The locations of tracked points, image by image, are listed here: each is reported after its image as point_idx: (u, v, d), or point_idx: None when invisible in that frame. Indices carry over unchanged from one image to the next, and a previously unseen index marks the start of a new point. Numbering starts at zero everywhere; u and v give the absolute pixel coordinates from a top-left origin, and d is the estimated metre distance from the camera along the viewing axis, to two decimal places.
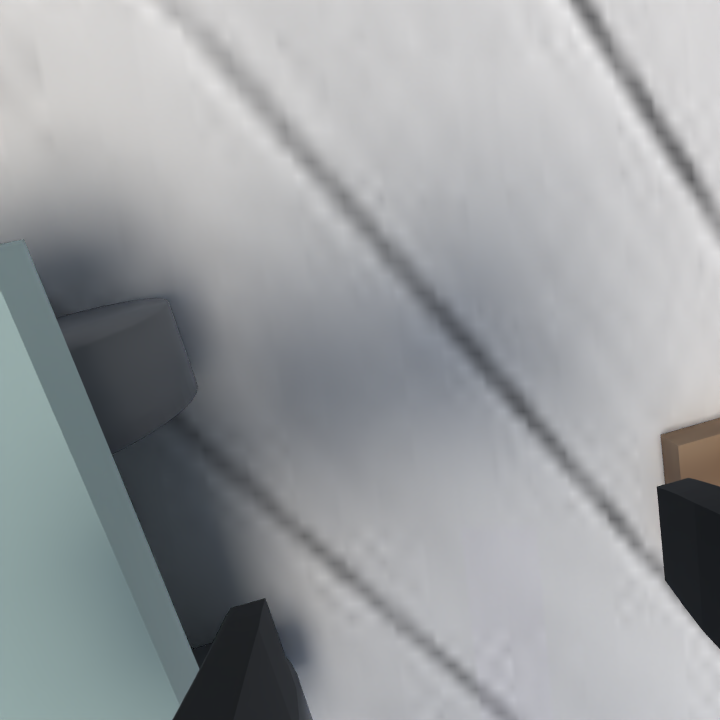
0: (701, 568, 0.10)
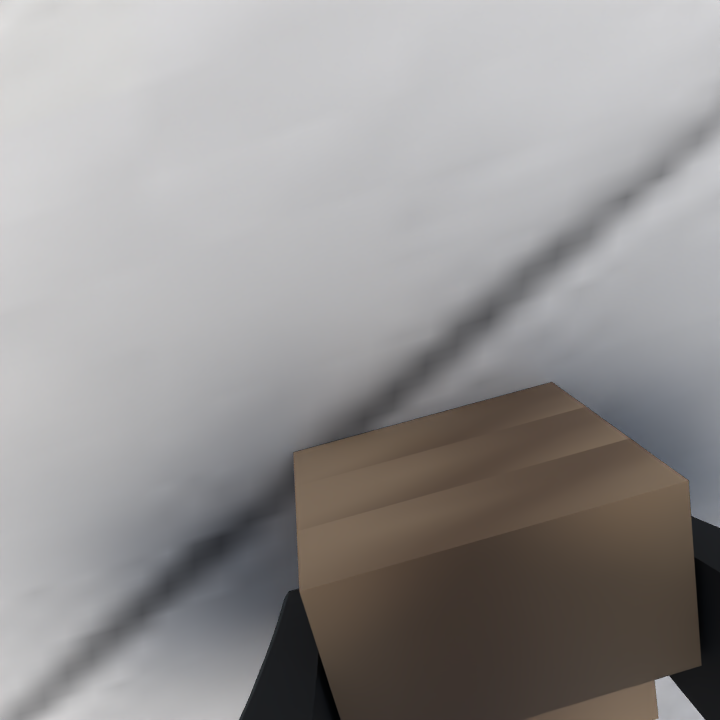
0: None
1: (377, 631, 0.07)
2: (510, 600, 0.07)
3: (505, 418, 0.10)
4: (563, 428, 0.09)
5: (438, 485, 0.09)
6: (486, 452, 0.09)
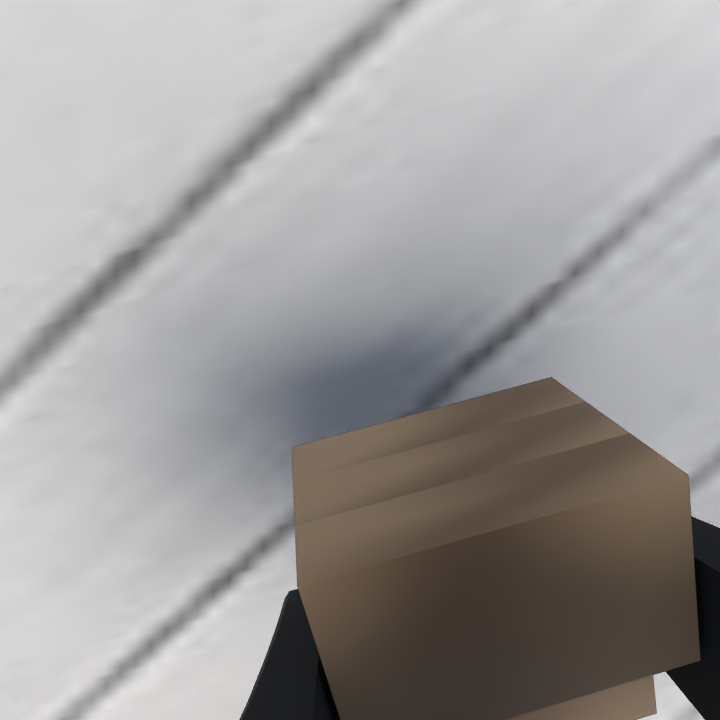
0: None
1: (375, 626, 0.07)
2: (508, 594, 0.07)
3: (505, 413, 0.10)
4: (562, 423, 0.09)
5: (437, 480, 0.09)
6: (485, 447, 0.09)
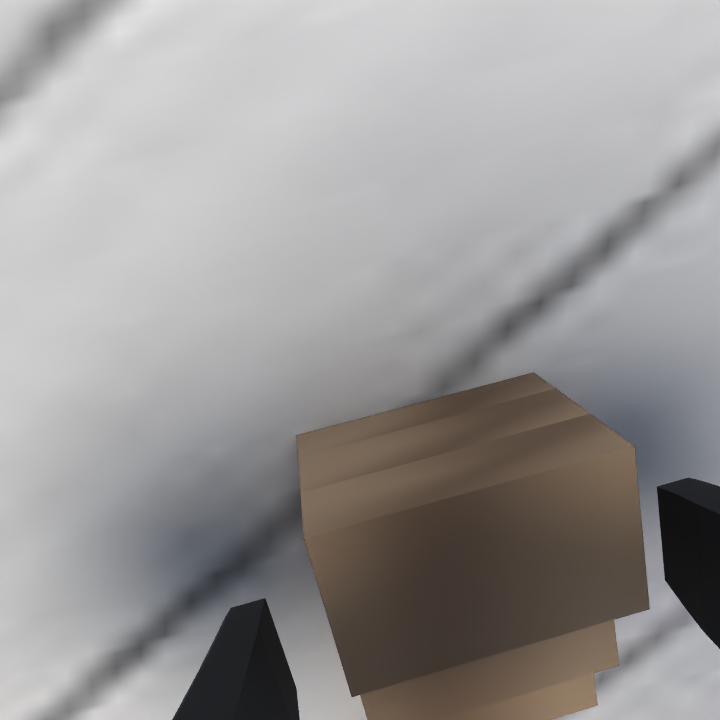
0: (701, 568, 0.10)
1: (369, 574, 0.09)
2: (483, 548, 0.09)
3: (485, 399, 0.11)
4: (534, 406, 0.11)
5: (423, 455, 0.10)
6: (466, 427, 0.10)
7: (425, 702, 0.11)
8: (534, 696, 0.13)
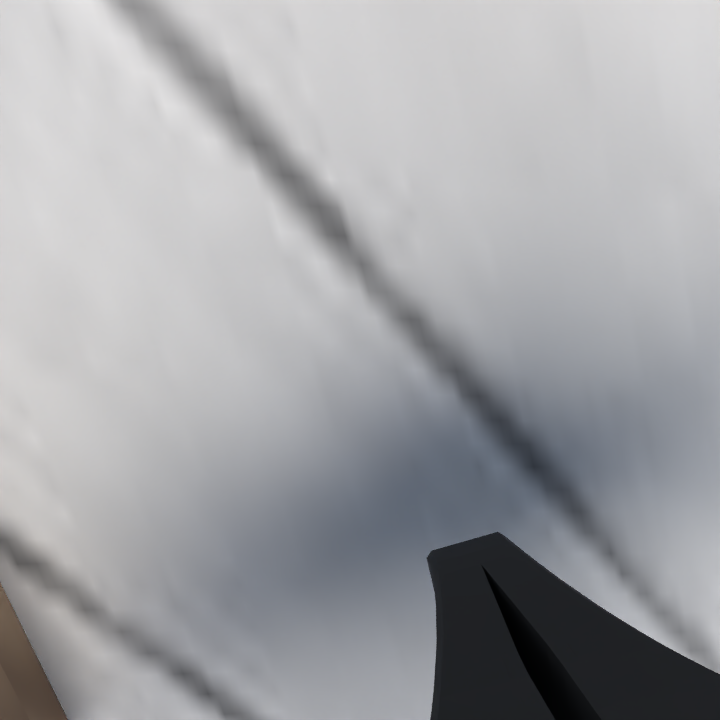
0: None
1: None
2: None
3: (37, 705, 0.12)
4: None
5: None
6: None
7: None
8: None
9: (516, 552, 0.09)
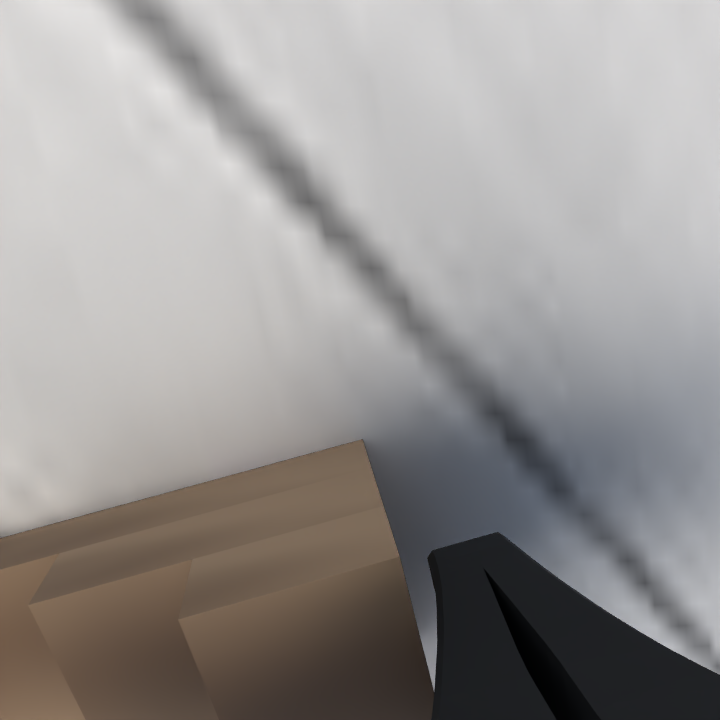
0: None
1: (348, 621, 0.08)
2: (370, 717, 0.09)
3: None
4: None
5: None
6: None
7: (89, 654, 0.09)
8: None
9: (515, 552, 0.09)
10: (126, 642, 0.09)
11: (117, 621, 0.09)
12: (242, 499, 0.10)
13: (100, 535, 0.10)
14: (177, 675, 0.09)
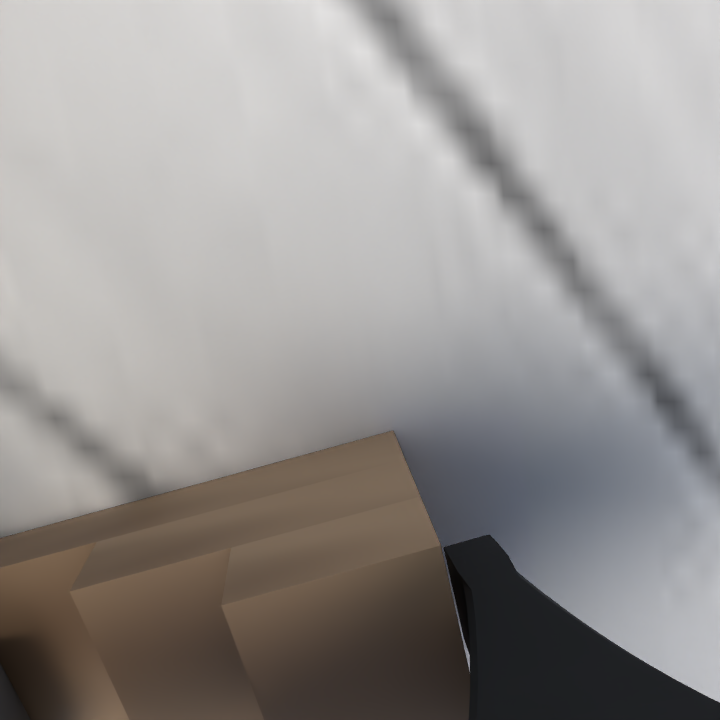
0: None
1: (389, 609, 0.08)
2: (407, 706, 0.09)
3: None
4: None
5: None
6: None
7: (128, 641, 0.09)
8: None
9: (492, 559, 0.09)
10: (164, 629, 0.09)
11: (156, 608, 0.09)
12: (277, 489, 0.10)
13: (136, 524, 0.10)
14: (213, 663, 0.10)
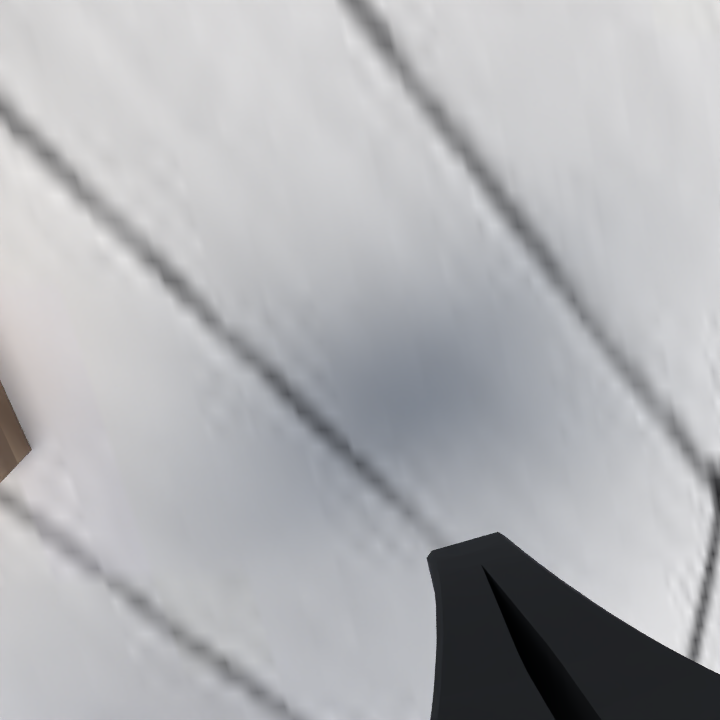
0: None
1: None
2: None
3: (6, 421, 0.17)
4: (1, 452, 0.17)
5: None
6: None
7: None
8: None
9: (515, 552, 0.09)
10: None
11: None
12: None
13: None
14: None
